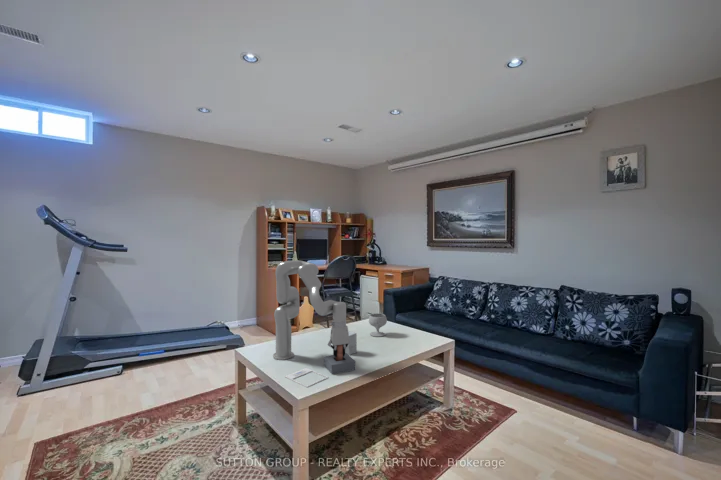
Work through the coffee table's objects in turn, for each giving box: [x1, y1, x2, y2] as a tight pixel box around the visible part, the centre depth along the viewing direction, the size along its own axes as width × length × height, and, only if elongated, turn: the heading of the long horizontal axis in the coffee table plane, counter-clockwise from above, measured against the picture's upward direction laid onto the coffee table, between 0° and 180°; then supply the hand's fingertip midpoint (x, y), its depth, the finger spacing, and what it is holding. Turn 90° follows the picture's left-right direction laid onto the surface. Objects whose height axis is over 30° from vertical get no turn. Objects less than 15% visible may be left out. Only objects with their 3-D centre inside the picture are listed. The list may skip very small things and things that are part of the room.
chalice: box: [368, 313, 388, 338], centre depth 243 cm, size 14×14×15 cm
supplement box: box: [345, 330, 358, 356], centre depth 204 cm, size 7×7×13 cm
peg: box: [336, 345, 343, 361], centre depth 180 cm, size 4×4×14 cm
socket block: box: [323, 353, 356, 375], centre depth 180 cm, size 14×14×5 cm
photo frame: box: [284, 367, 329, 388], centre depth 167 cm, size 15×1×18 cm
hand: (339, 355), depth 180 cm, fingers closed on peg, 4 cm apart
